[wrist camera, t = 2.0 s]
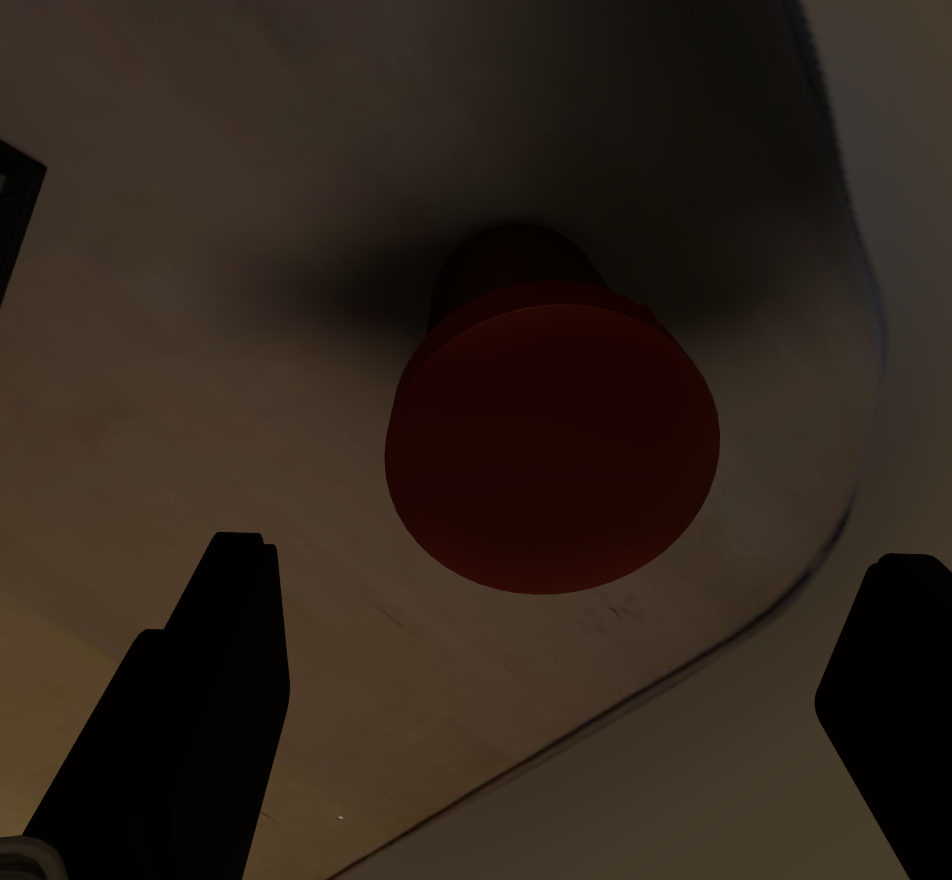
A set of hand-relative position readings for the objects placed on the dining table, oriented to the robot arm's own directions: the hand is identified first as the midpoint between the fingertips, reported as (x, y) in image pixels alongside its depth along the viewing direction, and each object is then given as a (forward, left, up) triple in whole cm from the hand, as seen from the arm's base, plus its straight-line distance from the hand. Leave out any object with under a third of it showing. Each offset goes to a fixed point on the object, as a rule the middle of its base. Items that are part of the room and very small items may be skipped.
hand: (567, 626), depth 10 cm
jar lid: (0, 0, -4) cm, 4 cm away
